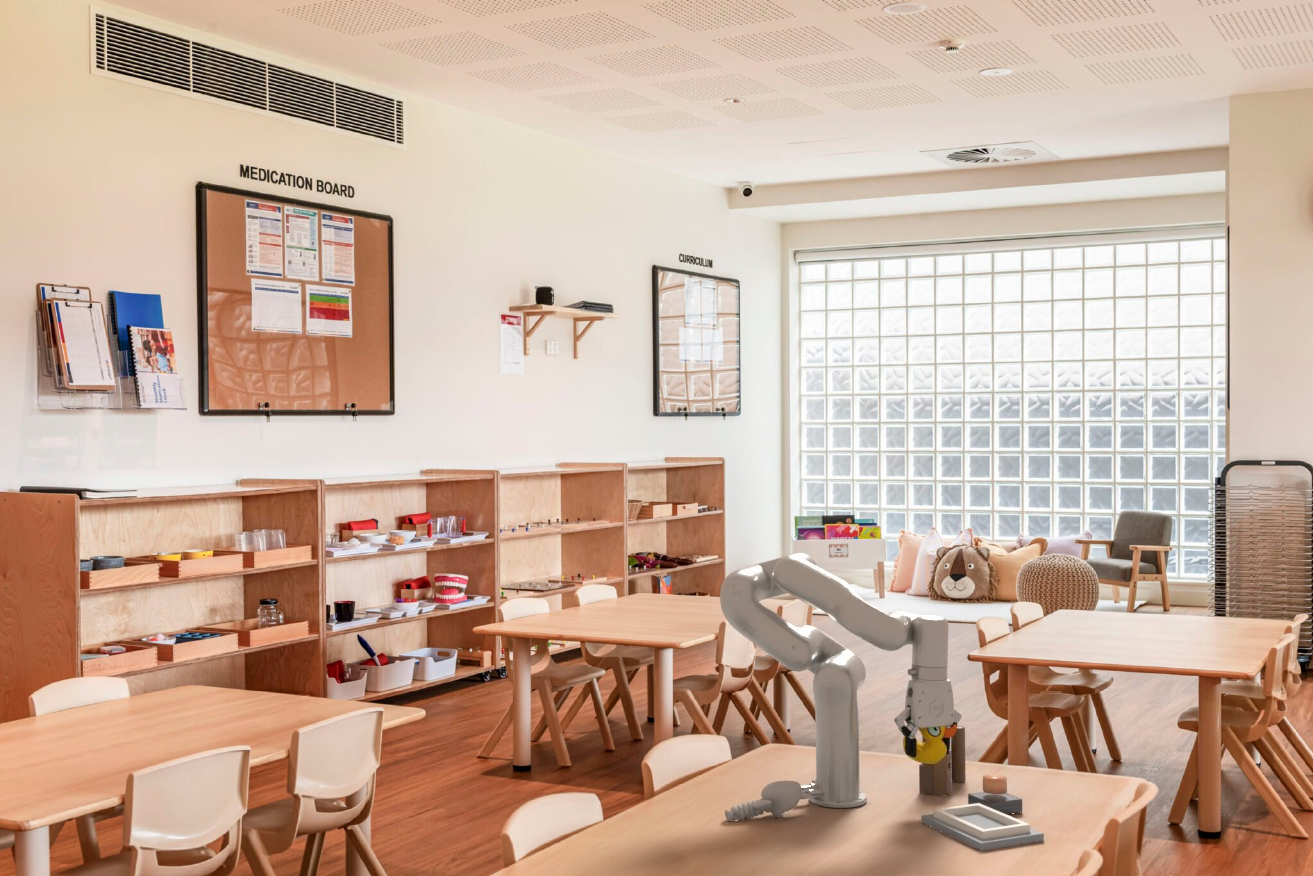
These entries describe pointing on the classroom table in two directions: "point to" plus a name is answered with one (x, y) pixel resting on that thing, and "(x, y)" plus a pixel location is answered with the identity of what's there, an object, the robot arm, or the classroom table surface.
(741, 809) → the toy creature
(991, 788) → the button
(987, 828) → the tray
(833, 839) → the classroom table surface
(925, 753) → the duckling
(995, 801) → the button base
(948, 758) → the wooden toy
